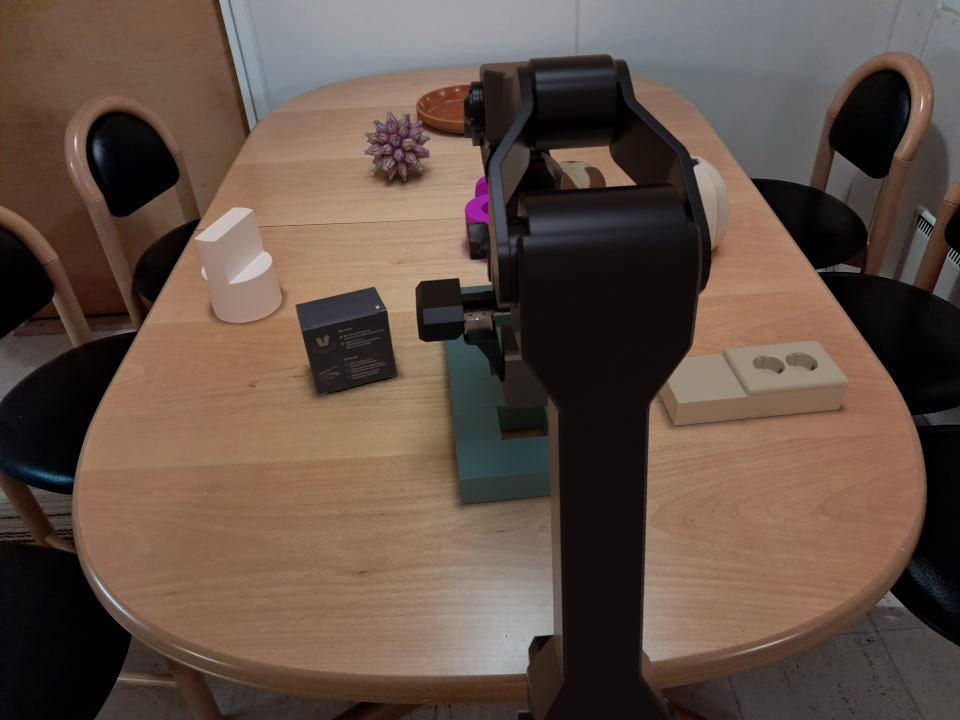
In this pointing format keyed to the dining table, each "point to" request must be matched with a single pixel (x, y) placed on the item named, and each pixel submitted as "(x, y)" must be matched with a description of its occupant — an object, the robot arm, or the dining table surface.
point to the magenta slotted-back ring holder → (478, 206)
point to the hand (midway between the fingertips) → (524, 376)
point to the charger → (518, 375)
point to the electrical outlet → (754, 383)
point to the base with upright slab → (238, 268)
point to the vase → (712, 198)
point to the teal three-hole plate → (493, 429)
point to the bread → (581, 175)
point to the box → (347, 339)
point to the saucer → (444, 108)
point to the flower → (397, 145)
